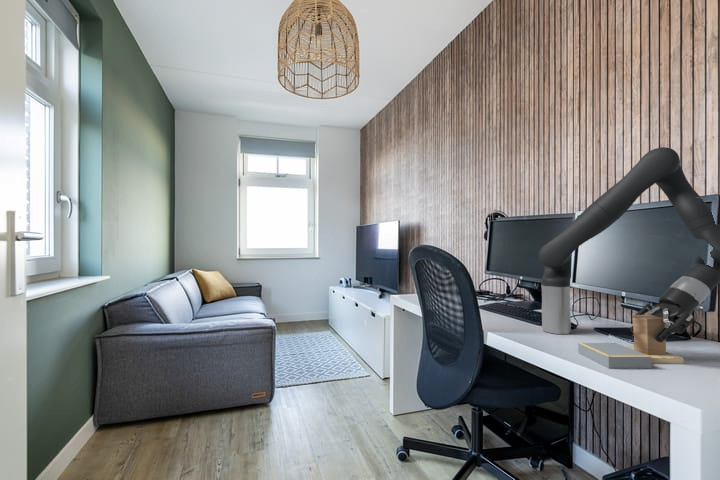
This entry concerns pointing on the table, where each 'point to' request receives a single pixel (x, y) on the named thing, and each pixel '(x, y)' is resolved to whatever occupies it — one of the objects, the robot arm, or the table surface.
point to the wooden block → (648, 334)
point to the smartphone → (621, 340)
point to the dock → (614, 355)
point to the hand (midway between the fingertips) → (644, 336)
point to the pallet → (664, 358)
